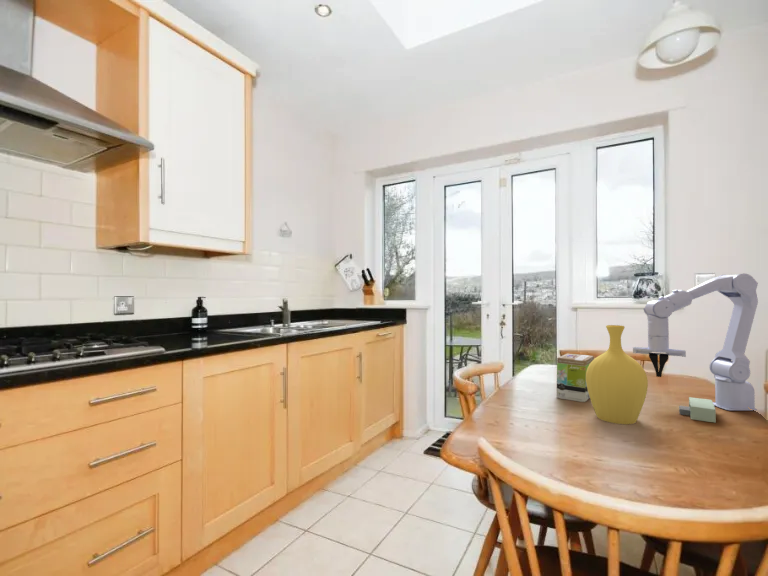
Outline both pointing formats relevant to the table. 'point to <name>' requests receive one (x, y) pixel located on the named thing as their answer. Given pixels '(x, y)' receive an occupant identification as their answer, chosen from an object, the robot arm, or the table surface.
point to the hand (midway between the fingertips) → (658, 376)
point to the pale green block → (702, 409)
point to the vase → (616, 382)
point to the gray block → (684, 410)
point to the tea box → (573, 377)
